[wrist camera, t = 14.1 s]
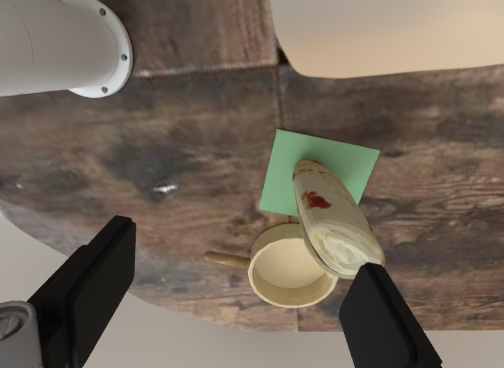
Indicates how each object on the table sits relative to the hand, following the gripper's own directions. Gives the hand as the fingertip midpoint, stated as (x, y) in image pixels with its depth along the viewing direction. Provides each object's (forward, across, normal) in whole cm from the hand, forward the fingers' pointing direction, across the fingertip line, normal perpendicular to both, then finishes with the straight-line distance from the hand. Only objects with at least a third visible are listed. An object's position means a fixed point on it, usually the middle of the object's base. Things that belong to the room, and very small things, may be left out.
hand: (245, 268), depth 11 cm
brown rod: (+29, 0, +24) cm, 37 cm away
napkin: (+31, -12, +7) cm, 34 cm away
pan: (+31, -12, +23) cm, 41 cm away
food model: (+31, -11, +7) cm, 34 cm away
